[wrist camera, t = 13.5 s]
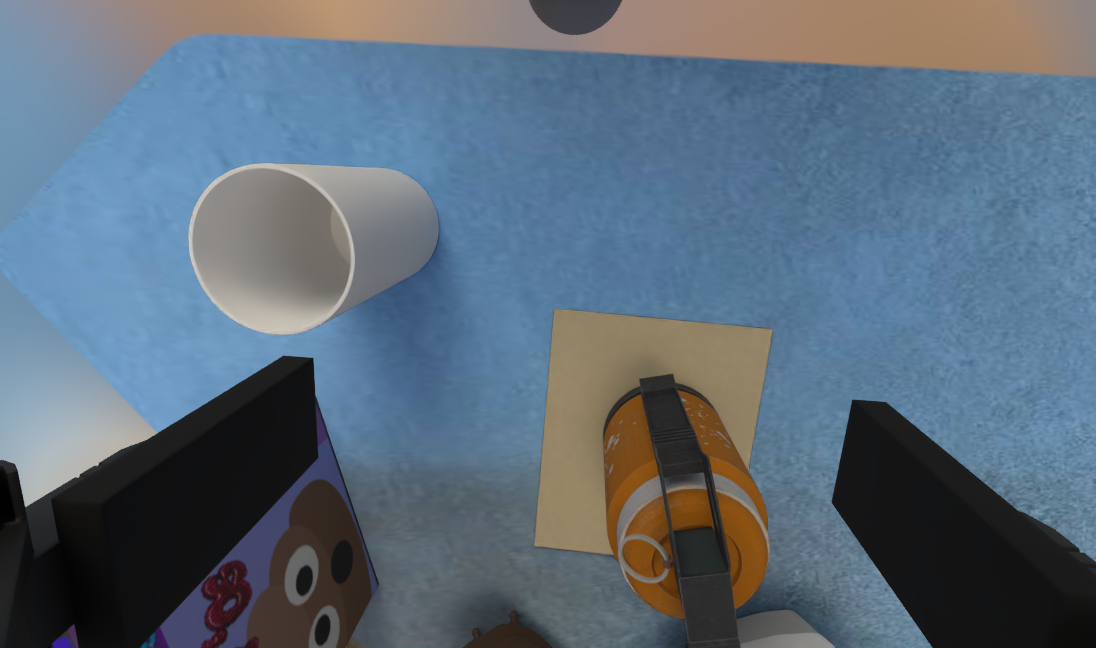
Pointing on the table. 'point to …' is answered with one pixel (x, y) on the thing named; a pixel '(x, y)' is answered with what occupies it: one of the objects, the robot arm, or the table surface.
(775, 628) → the bowl
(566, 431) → the mat
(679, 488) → the canister
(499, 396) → the table surface
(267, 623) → the cereal box
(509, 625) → the alarm clock
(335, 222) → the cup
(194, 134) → the table surface
